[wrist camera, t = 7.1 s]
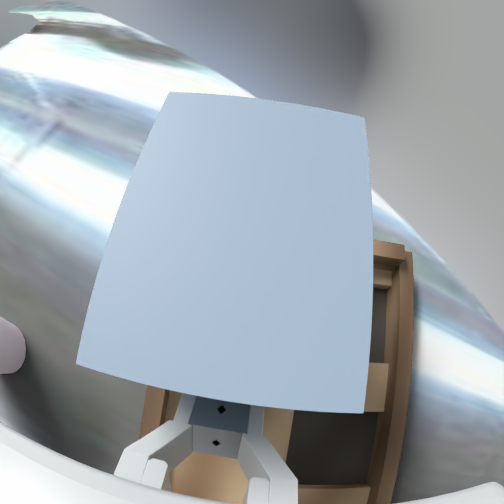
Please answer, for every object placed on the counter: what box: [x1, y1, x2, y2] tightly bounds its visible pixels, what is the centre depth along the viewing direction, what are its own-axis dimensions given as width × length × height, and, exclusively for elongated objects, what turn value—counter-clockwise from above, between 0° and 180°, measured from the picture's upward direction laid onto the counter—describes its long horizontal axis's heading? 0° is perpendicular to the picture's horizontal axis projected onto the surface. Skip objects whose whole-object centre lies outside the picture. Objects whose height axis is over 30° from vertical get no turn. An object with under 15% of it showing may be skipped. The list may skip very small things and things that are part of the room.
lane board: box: [139, 240, 414, 504], centre depth 16 cm, size 14×21×3 cm
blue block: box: [76, 92, 373, 413], centre depth 13 cm, size 6×8×12 cm
